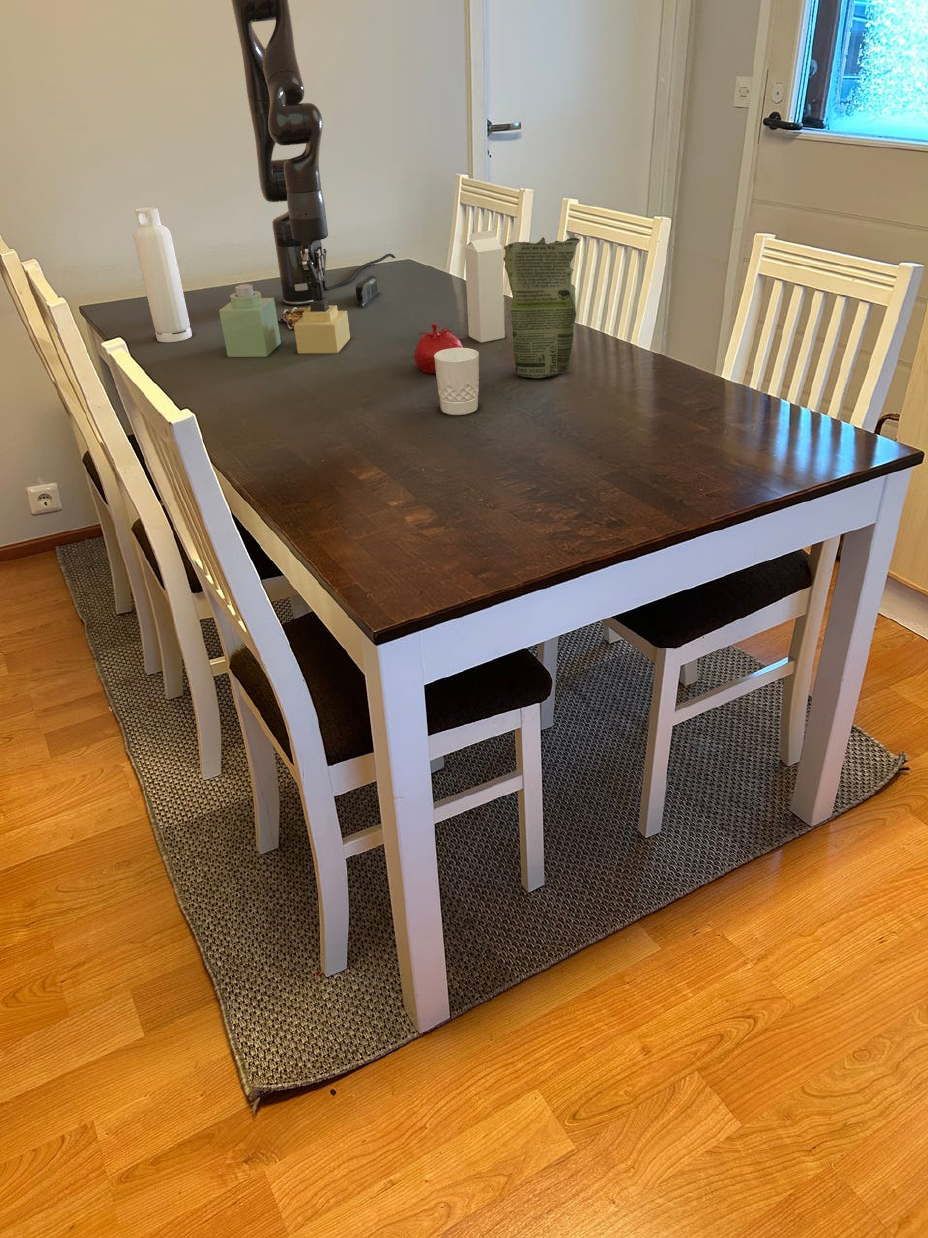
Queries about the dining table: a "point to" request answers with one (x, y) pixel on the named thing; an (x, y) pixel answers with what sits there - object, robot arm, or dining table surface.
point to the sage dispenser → (250, 326)
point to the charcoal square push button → (319, 306)
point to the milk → (485, 287)
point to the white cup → (457, 380)
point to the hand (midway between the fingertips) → (318, 299)
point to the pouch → (541, 305)
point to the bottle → (161, 277)
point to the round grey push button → (244, 290)
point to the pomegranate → (433, 348)
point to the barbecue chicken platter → (292, 316)
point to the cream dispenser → (322, 331)
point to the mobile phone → (366, 290)
